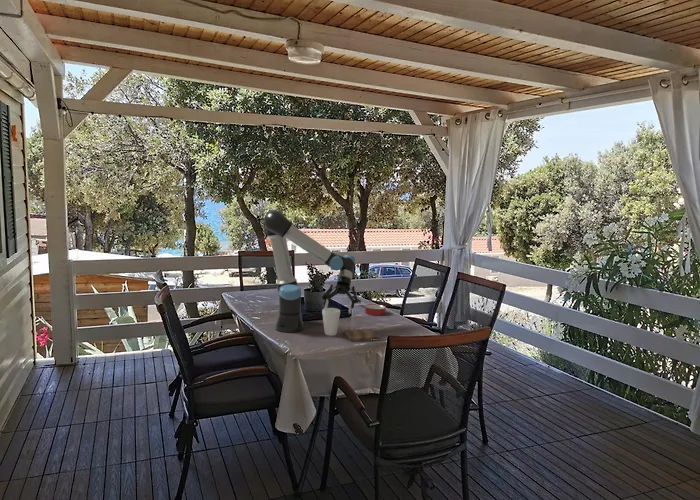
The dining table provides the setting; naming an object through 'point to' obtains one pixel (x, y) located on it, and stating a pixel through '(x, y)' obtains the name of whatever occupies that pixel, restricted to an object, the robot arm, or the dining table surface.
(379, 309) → the frying pan
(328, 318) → the foam cup
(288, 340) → the dining table surface
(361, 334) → the walnut board
